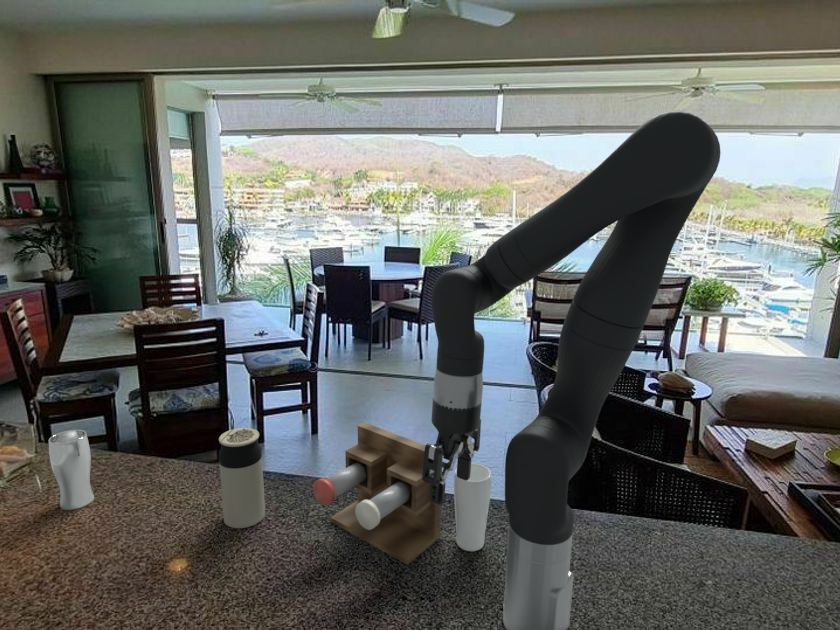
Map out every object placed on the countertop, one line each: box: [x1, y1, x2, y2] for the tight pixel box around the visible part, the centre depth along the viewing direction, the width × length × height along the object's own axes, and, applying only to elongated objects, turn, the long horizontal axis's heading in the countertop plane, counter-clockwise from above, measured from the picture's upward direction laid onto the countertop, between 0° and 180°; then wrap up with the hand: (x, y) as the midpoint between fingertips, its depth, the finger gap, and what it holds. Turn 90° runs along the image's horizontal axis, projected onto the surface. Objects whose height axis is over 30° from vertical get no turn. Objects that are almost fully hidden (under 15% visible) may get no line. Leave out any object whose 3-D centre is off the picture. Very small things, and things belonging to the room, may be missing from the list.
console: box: [330, 422, 443, 565], centre depth 102 cm, size 20×10×18 cm, turn 52°
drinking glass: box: [453, 462, 492, 552], centre depth 98 cm, size 7×7×15 cm
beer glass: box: [48, 429, 95, 511], centre depth 110 cm, size 7×7×15 cm
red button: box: [312, 462, 367, 507], centre depth 100 cm, size 5×10×5 cm, turn 142°
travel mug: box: [218, 427, 266, 529], centre depth 105 cm, size 8×8×18 cm
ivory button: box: [355, 481, 411, 530], centre depth 94 cm, size 5×10×5 cm, turn 142°
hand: (450, 489), depth 85 cm, fingers open, 8 cm apart
